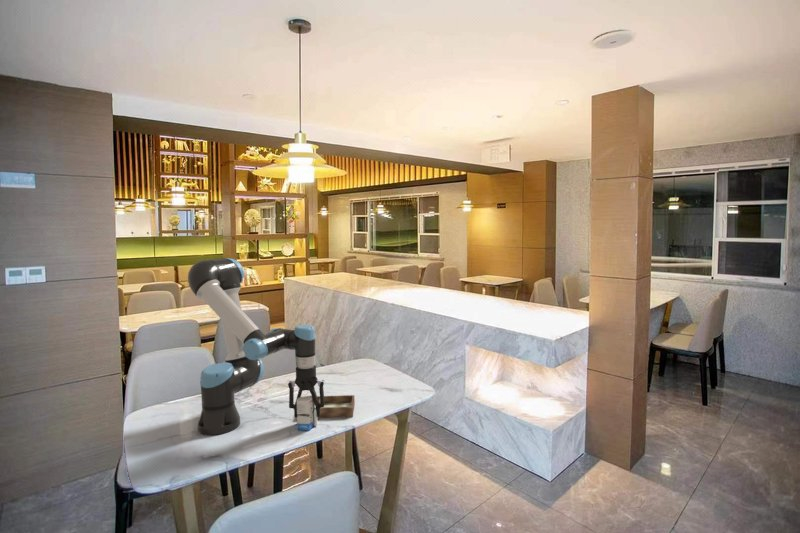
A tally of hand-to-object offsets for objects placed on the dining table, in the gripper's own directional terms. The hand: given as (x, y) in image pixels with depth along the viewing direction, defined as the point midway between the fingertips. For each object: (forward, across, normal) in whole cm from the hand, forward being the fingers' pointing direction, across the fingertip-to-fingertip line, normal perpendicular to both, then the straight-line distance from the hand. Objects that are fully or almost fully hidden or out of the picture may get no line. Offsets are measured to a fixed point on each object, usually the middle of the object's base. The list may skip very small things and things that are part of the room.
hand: (307, 424), depth 169 cm
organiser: (0, +7, +13) cm, 15 cm away
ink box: (+1, 0, 0) cm, 1 cm away
